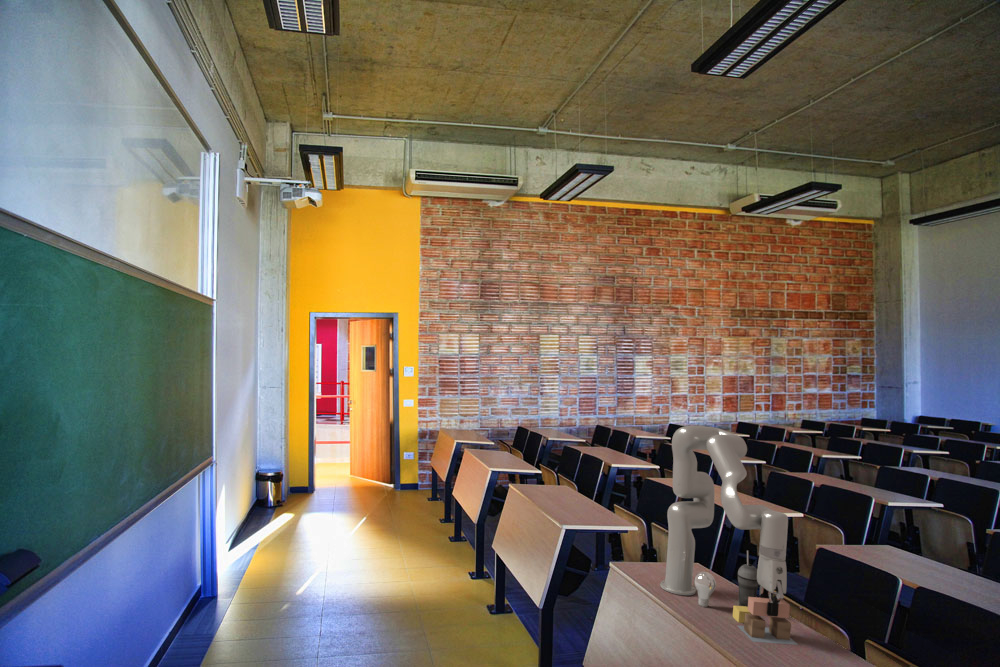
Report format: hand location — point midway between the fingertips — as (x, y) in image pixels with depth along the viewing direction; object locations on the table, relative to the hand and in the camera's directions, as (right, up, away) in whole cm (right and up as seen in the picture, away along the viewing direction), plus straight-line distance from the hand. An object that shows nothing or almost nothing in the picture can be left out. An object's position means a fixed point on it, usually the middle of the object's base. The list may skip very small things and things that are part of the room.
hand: (768, 611), depth 187 cm
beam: (0, -1, 0) cm, 1 cm away
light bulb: (-14, -8, +19) cm, 25 cm away
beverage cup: (+1, -9, +20) cm, 22 cm away
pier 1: (-5, -7, 0) cm, 8 cm away
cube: (-4, -8, +9) cm, 13 cm away
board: (-1, -8, 0) cm, 8 cm away
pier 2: (+3, -7, 0) cm, 8 cm away
